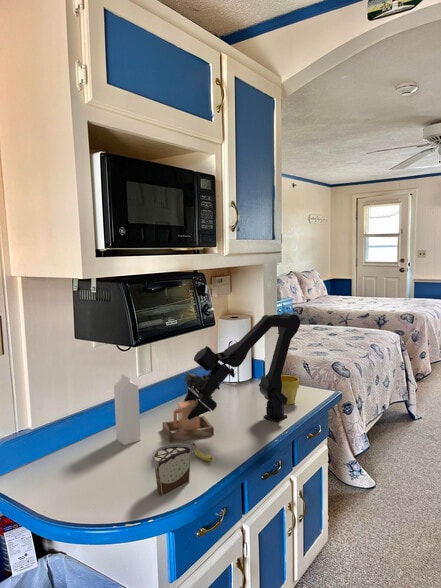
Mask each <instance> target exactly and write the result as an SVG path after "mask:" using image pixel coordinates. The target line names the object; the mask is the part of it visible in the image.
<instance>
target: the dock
mask: <svg viewBox="0 0 441 588" xmlns="http://www.w3.org/2000/svg"><path fill="white" fill-rule="evenodd" d="M177 423H178V419H177ZM200 425H202V426H203V427H200V429H194V430H188V431H182V432H180V431H177V432H172V431H171V430H175V429H179V427H177V428H174V422H173V420H170V421H169V420H168V421H163V422H162V431H163V432H164V434H165V436H166V438H167V440H168V441H169V443H173V442H174V443H175V442H179V441H185V440H190V439H195V438H196V439H197V438H203V437H208V436H214V434H215V432H214V430H215V429H214V428H215V427H214V426H213V425H212V424H211V422H209V420H208V419H207V418H206V417H205V416H204V415H201V416H200Z"/></svg>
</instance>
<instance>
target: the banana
mask: <svg viewBox="0 0 441 588" xmlns="http://www.w3.org/2000/svg"><path fill="white" fill-rule="evenodd" d="M191 446H193V447H194V455H196V457H198V458H199V459H200V460H203V461H205V462H206V461H207V462H211V461H212V460H213V456H212V455H208V454H206V453H203V452H201V450H199V449H198V448H197V446H196V443H194V442H193V443H192V445H191Z"/></svg>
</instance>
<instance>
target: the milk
mask: <svg viewBox="0 0 441 588" xmlns="http://www.w3.org/2000/svg"><path fill="white" fill-rule="evenodd" d="M113 389H114V390H113V394H114V413H115V416H114V417H115V431H116V432H115V434H116V435H115V436H116V441H118V442H119V443H120V444H121V445H123V446H127V445H131V444H133V443H136V442H140V441H141V439H142V438H141V421H140V419H141V418H140V398H139V397H140V396H139V395H140V393H139V385H138V384H136V383H135V382H133V381H131V378H130V377H129V376H128V375H126V374H123V373H121V378H120V379H119V380H118V381H117V382H115V383H114V384H113Z"/></svg>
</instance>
